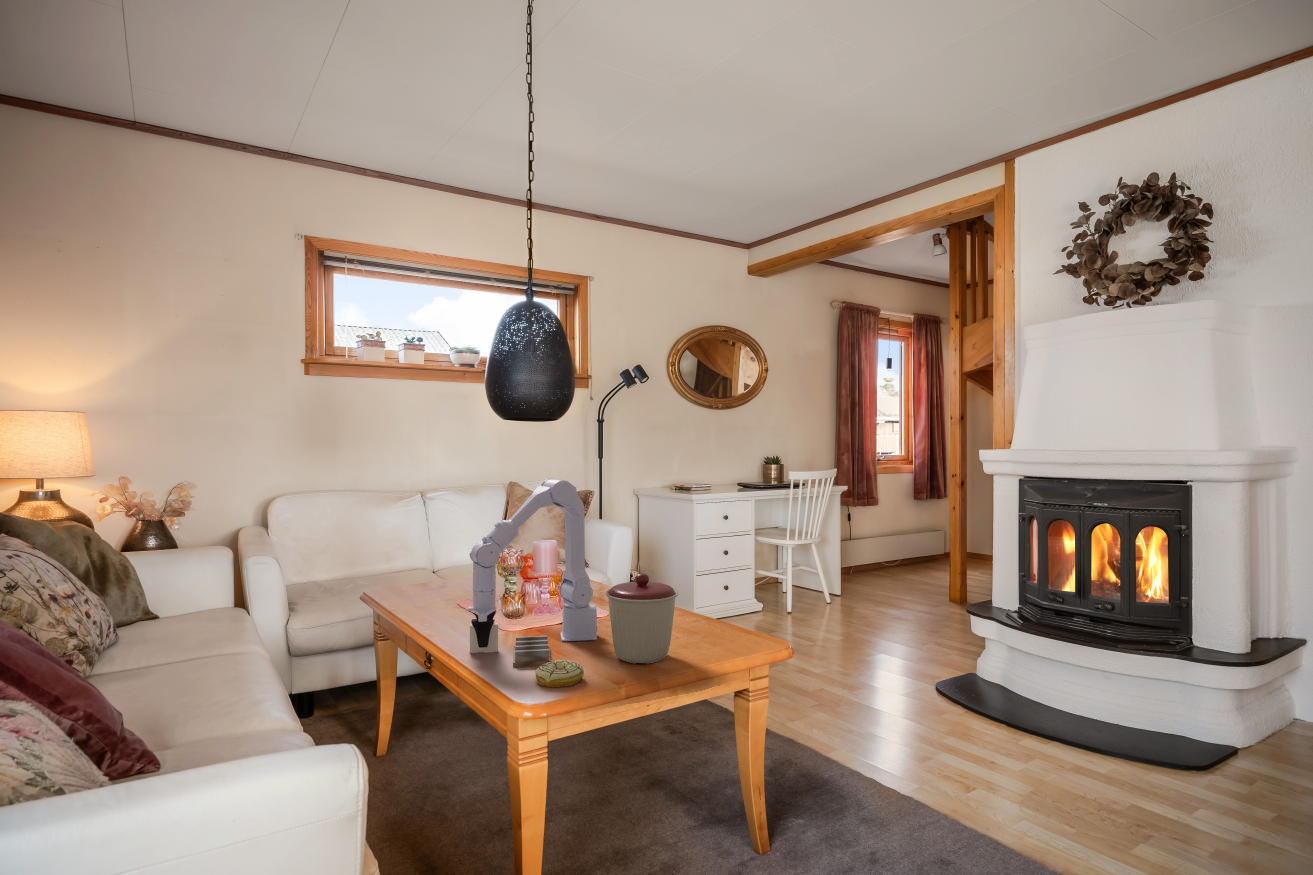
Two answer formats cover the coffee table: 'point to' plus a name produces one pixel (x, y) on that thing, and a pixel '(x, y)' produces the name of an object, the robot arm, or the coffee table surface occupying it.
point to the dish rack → (531, 651)
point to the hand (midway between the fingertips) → (484, 642)
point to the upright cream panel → (491, 644)
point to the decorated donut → (559, 673)
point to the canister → (641, 619)
